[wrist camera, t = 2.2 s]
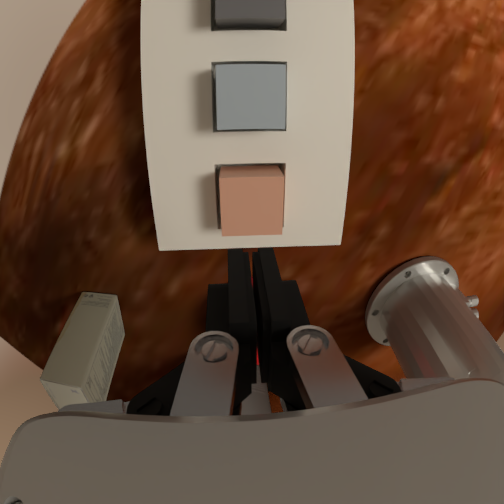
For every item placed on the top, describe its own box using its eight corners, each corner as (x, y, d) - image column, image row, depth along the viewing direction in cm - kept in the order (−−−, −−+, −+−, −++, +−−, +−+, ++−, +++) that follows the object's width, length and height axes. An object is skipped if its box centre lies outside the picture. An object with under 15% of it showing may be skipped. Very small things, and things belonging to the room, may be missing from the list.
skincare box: (82, 289, 29) (35, 375, 19) (119, 294, 30) (80, 387, 19) (93, 332, 32) (60, 415, 22) (127, 337, 33) (101, 425, 22)
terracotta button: (277, 165, 21) (284, 176, 19) (276, 216, 23) (282, 234, 21) (220, 166, 21) (219, 178, 19) (223, 218, 23) (222, 236, 21)
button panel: (334, -21, 16) (350, -37, 13) (327, 223, 27) (340, 244, 24) (156, -21, 16) (143, -38, 12) (168, 228, 27) (159, 250, 23)
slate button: (278, 68, 18) (285, 64, 15) (278, 123, 20) (285, 129, 17) (218, 68, 18) (215, 64, 15) (219, 124, 20) (217, 130, 17)
